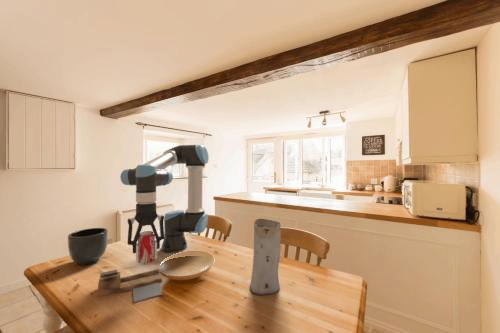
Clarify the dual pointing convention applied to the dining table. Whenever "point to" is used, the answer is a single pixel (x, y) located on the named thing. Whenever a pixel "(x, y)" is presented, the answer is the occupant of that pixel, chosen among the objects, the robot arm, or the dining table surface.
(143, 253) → the beverage can
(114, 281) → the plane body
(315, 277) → the dining table surface
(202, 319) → the dining table surface
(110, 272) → the blue-grey rectangular panel
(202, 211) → the robot arm
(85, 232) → the planter
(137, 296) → the mat
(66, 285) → the dining table surface
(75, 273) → the dining table surface
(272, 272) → the vase
